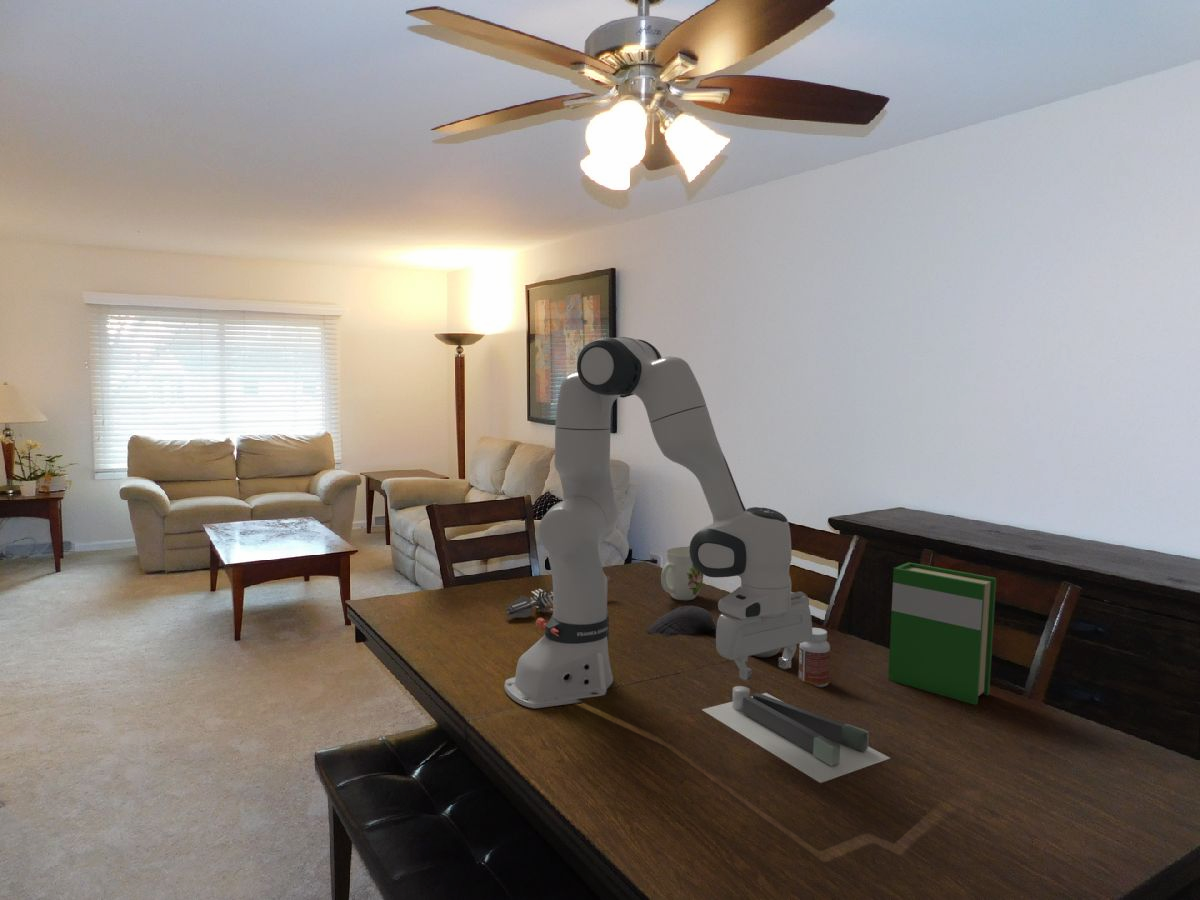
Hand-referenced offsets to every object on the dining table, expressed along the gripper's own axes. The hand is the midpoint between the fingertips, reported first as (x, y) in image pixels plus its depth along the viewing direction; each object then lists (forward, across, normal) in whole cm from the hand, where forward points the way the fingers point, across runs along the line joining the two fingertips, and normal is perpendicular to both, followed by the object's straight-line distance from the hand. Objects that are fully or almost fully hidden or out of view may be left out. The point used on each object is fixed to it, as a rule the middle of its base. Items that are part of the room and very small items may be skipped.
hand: (765, 672), depth 142 cm
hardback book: (+11, -44, +4) cm, 45 cm away
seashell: (+10, -18, -50) cm, 54 cm away
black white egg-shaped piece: (+10, -24, -28) cm, 39 cm away
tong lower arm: (+9, +1, +5) cm, 10 cm away
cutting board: (+10, 0, +6) cm, 12 cm away
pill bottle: (+10, -22, -10) cm, 27 cm away
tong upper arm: (+9, -4, +7) cm, 12 cm away
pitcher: (+9, -34, -73) cm, 81 cm away
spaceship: (+9, 0, -81) cm, 81 cm away
